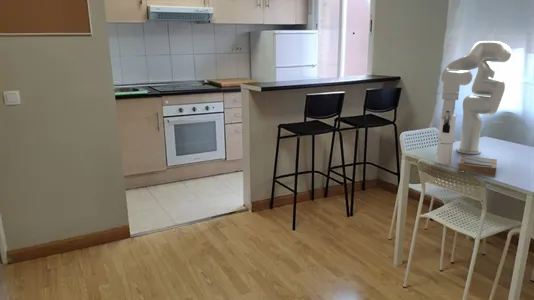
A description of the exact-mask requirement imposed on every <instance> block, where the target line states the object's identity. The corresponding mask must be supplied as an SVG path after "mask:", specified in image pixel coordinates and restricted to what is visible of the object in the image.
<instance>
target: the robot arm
mask: <svg viewBox="0 0 534 300" xmlns="http://www.w3.org/2000/svg"><path fill="white" fill-rule="evenodd" d="M470 48H471V49H470V50H468V52H467V54H465V56H462V57H460V58H458V59H457V58H456V60H453V61H451V62H450V63H449V64H448V65H447V66H446V67H445V68H444V69H443V71H442V73H441V77H440V78H441V81H442V83H443V85H442V92H441V93H442V95H441V100H443V102H442V110H441V114H442V117H441V116H440V117H441V119H442V118H443V119H444V124H443V131H442V132H443V133H449V131H450V120H451V119H452V116H453V115H455V108H456V101H458V100H459V96H460V88H461V87H460V86H468V85H469V84H470V83H471V82H472V80H473V73H472V72H471V70H474V69H477V72H476V75H475V78H474V80H473V84H472V86H471V93H472V94H474V95H470V94H469V95H468V96H465V97H464V98H463V100H462V124H461V133H460V142H459V146H458V147H456V149H455V150H456V152H458V153H461V154H465V155H480V154H481V153H482V150H481V149H480V148H479V146H480V138H481V130H482V118H481V116H480V115H486V116H493V115H495V114H496V113H497V111H498V109H499V106H500V104H501V101H502V98H503V97H504V93H505V89H506V84H505V82H504V80H502V79H498V78H494V77H495V72H496V70H495V69H494V67H493V65H492V64H491V63H493V62H494V63H506V62H508V61H509V60H510V59H511V56H512V49H511V47H510V46H509V45H507V44H505V43H503V42H501V41H497V40H496V41H495V40H493V41H492V40H491V41H489V40H488V41H487V40H485V41H484V40H483V41H482V40H481V41H477V42H476V43H475V44H474V45H473V46H472V47H470ZM490 62H491V63H490ZM445 116H446V117H445ZM448 116H450V118H449V119H448ZM448 120H449V121H448ZM448 122H449V123H448Z"/></svg>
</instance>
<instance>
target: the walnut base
mask: <svg viewBox="0 0 534 300" xmlns="http://www.w3.org/2000/svg"><path fill="white" fill-rule="evenodd" d="M497 162H498V159H497V158H488V157H479V156H472V155H471V156H470V155H469V156H468V155H461V156H460V159H459V162H458V167H457V168H458V169H457V171H458V170H459V171H464V172H468V173H467V174H472V173H473V174H474V175H480V176H481V175H482V176H488V177H496V176H497V175H496V174H497ZM464 172H463V173H464ZM473 174H472V175H473Z"/></svg>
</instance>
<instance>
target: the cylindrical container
mask: <svg viewBox="0 0 534 300" xmlns="http://www.w3.org/2000/svg"><path fill="white" fill-rule="evenodd" d="M441 117H442V113H441V114H440V120H439V129H438V130H439V131H438V141H437V149H436V159H435V163H436V164H439V165H450V164H451V163H452V157H453V147H454V140H455V139H454V138H455V127H456V119H457V115H456V114H454V115H453V116H452V119H451V120H450V131H449V133H443V132H442V131H443V124H444V119H443V118H442V119H441ZM445 117H446V116H445ZM449 118H450V116H448V119H449ZM448 121H449V120H448ZM448 123H449V122H448Z"/></svg>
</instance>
